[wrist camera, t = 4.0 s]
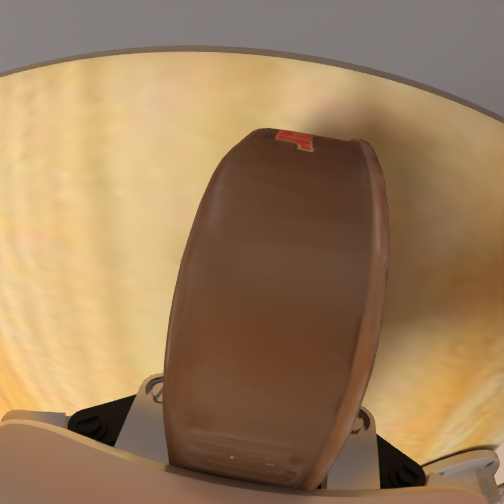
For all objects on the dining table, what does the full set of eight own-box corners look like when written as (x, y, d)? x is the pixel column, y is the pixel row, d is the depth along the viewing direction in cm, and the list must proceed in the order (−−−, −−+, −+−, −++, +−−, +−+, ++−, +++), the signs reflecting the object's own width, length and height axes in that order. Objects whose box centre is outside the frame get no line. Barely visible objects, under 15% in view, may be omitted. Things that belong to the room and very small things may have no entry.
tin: (271, 433, 16) (260, 571, 8) (215, 425, 16) (184, 561, 8) (342, 136, 10) (513, 182, 2) (247, 120, 10) (132, 108, 2)
